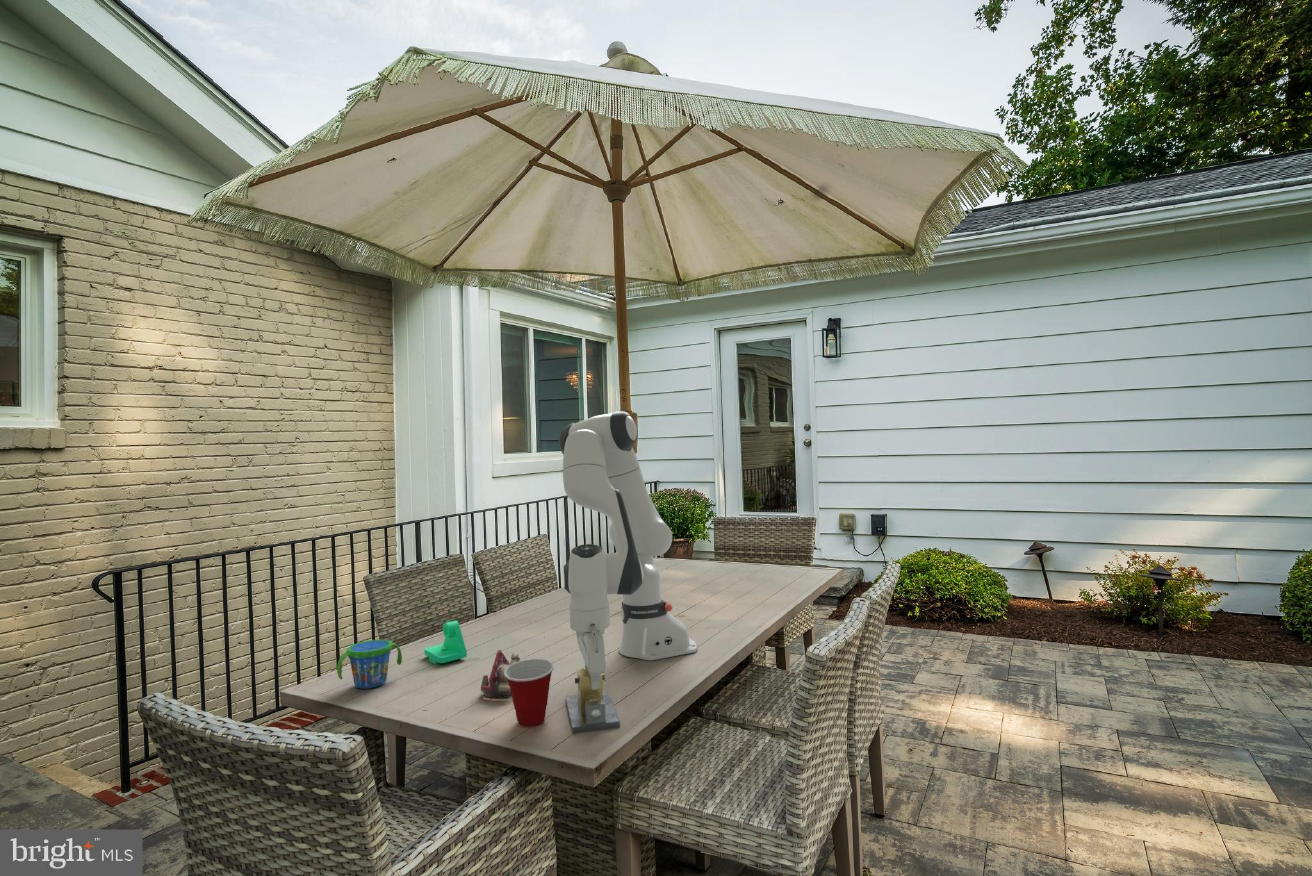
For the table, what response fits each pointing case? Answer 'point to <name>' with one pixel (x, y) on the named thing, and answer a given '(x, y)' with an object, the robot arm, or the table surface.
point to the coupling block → (587, 688)
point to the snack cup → (369, 662)
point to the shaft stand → (592, 714)
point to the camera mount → (448, 645)
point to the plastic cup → (530, 689)
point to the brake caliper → (498, 678)
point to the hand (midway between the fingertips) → (592, 680)
